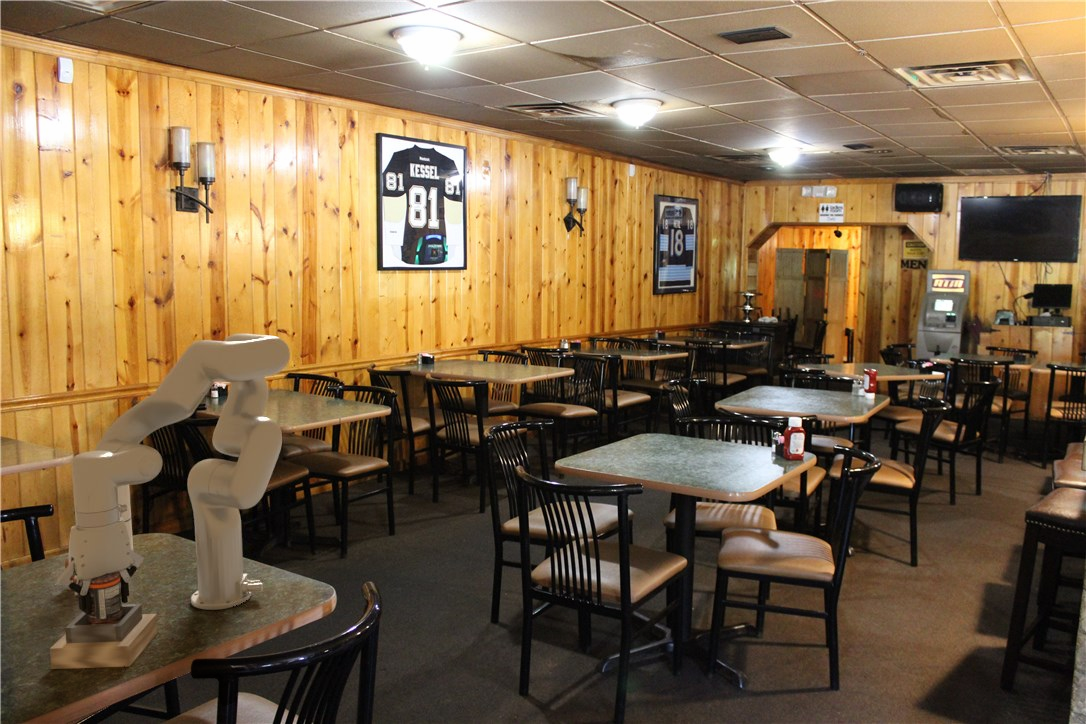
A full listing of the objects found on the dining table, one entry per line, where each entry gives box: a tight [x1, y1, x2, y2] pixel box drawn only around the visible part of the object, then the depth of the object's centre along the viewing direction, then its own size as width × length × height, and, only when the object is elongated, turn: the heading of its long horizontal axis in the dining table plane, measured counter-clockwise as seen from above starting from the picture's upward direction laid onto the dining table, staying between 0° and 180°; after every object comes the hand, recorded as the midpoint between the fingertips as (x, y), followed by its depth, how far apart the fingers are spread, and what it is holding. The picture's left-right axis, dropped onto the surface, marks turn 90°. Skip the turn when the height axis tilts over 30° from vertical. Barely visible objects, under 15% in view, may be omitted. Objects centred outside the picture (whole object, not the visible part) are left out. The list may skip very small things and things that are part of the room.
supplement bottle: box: [88, 572, 123, 624], centre depth 162 cm, size 6×6×11 cm
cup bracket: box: [49, 603, 159, 670], centre depth 163 cm, size 14×14×7 cm
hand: (104, 605), depth 162 cm, fingers closed on supplement bottle, 6 cm apart
